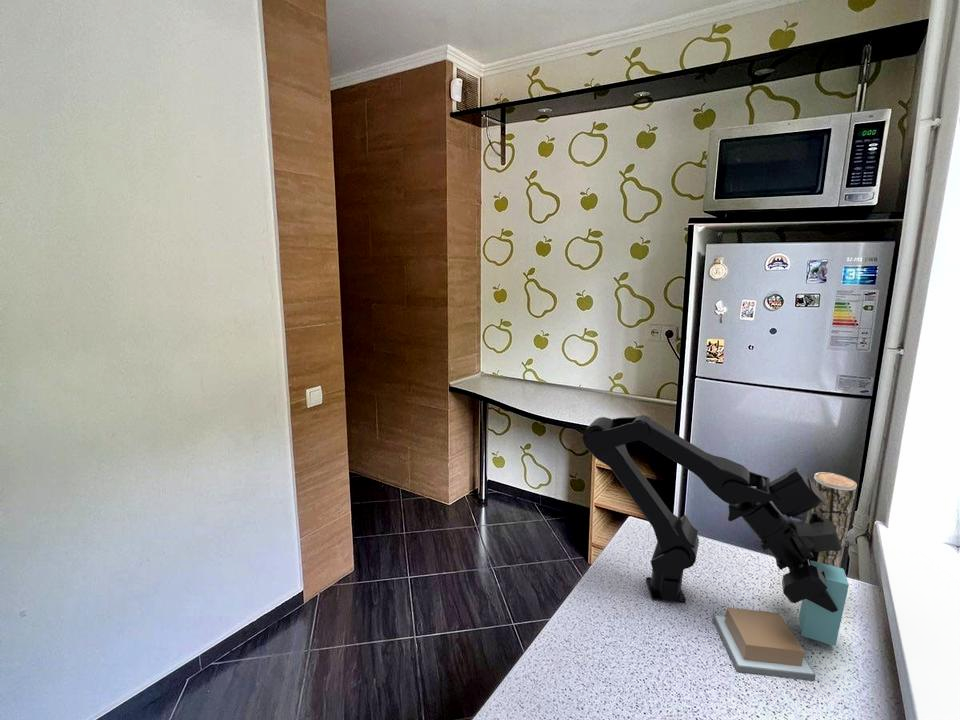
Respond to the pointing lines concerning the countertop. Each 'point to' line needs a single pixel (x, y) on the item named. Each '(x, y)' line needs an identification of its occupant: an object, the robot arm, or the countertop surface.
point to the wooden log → (835, 509)
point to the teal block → (820, 620)
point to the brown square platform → (762, 644)
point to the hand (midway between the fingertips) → (832, 601)
